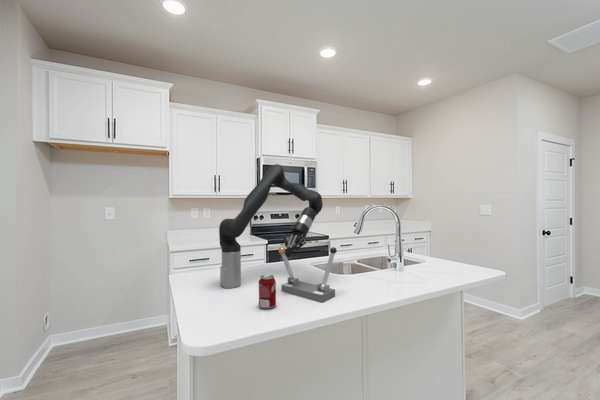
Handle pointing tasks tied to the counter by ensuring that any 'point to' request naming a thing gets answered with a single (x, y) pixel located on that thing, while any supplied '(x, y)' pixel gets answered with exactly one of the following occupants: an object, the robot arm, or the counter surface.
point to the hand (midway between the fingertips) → (286, 255)
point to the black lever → (328, 268)
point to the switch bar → (308, 290)
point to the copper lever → (287, 264)
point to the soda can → (267, 292)
